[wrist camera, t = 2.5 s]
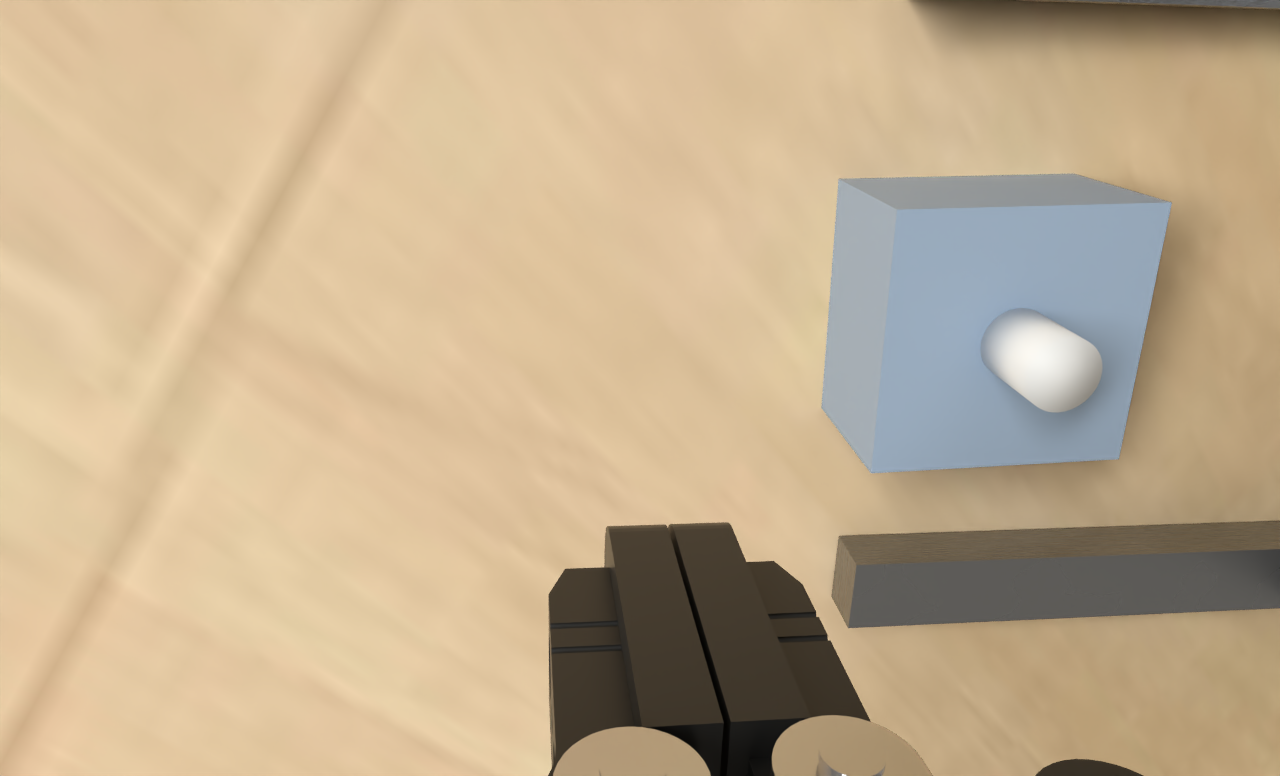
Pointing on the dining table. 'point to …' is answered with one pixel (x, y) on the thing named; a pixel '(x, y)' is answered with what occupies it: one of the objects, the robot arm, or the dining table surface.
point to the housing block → (987, 318)
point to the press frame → (1060, 554)
